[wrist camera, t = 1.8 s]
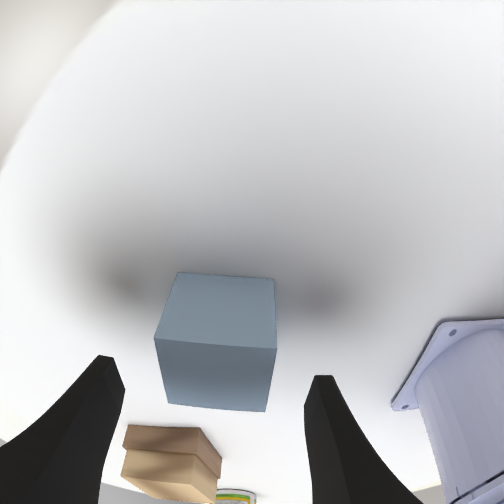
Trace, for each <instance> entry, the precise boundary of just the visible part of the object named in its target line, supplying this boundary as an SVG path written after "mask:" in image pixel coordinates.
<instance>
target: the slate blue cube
mask: <svg viewBox="0 0 504 504" xmlns="http://www.w3.org/2000/svg"><path fill="white" fill-rule="evenodd" d="M154 341H155V346H156V351H157V356H158V361H159V365H160V370H161V374H162V379H163V383H164V387H165V392H166V396H167V400H168V403H170V404H177V405H185V406H193V407H202V408H212V409H223V410H236V411H252V412H265V410H266V405H267V400H268V395H269V390H270V385H271V379H272V374H273V369H274V363H275V358H276V352H277V334H276V314H275V295H274V279H264V278H250V277H235V276H222V275H209V274H196V273H184V272H178V274H177V276H176V279H175V282H174V284H173V287H172V289H171V292H170V295H169V297H168V300H167V303H166V305H165V308H164V311H163V314H162V316H161V319H160V322H159V325H158V327H157V330H156V333H155V336H154Z"/></svg>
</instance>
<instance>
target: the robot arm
mask: <svg viewBox="0 0 504 504" xmlns="http://www.w3.org/2000/svg"><path fill="white" fill-rule="evenodd" d="M124 394H125V388H124V385H123V382H122V380H121V377H120V374H119V372H118V369H117V366H116V364H115V361H114V358H113V357H108V356H102V355H98V356H97V357H96V358H95V359H94V360H93V362H92V363H91V364H90V365H89V366H88V367H87V368H86V370H85V371H84V372H83V373H82V374H81V375H80V376H79V378H78V379H77V380H76V381H75V382H74V383H73V384H72V385H71V386H70V387H69V389H68V390H67V391H66V392H65V393H64V394H63V395H62V396H61V397H60V398H59V399H58V400H57V401H56V402H55V403H54V404H53V405H52V406H51V407H50V408H49V409H48V410H47V411H46V412H45V413H44V414H43V415H42V416H41V417H40V418H39V419H38V420H36V421H35V422H34V423H33V424H32V425H31V426H29V427H28V428H27V429H26V430H24V431H23V432H22V433H20V434H19V435H18V436H16V437H15V438H14V439H12V440H11V441H9V442H8V443H6V444H4V445H3V446H1V447H0V504H98V498H99V490H100V483H101V477H102V471H103V466H104V463H105V459H106V456H107V452H108V449H109V446H110V443H111V440H112V437H113V434H114V431H115V428H116V425H117V422H118V419H119V416H120V413H121V408H122V404H123V399H124ZM391 408H392V410H393V411H402V410H410V409H417V408H419V409H420V412H421V415H422V418H423V421H424V424H425V427H426V430H427V433H428V437H429V440H430V443H431V447H432V450H433V453H434V457H435V460H436V464H437V468H438V471H439V475H440V479H441V483H442V487H443V490H444V495H445V499H446V503H447V504H504V319H494V320H478V321H457V322H444V323H442V324H441V325H439V326H438V328H437V329H436V331H435V333H434V335H433V337H432V339H431V341H430V343H429V344H428V346H427V348H426V350H425V351H424V353H423V355H422V357H421V358H420V360H419V362H418V364H417V365H416V367H415V369H414V370H413V372H412V373H411V375H410V377H409V378H408V380H407V382H406V383H405V385H404V386H403V388H402V389H401V391H400V392H399V394H398V395H397V397H396V398H395V400H394V401H393V403H392V404H391ZM304 427H305V437H306V444H307V451H308V458H309V465H310V472H311V480H312V496H313V504H423V503H422V502H421V501H420V500H419V499H418V498H416V497H415V496H414V495H413V494H412V493H411V492H410V491H409V490H408V489H407V488H406V487H405V486H404V485H403V484H402V483H401V482H400V481H399V480H398V478H397V477H396V476H395V475H394V474H393V473H392V472H391V470H390V469H389V468H388V467H387V466H386V464H385V463H384V462H383V461H382V459H381V458H380V457H379V455H378V454H377V453H376V451H375V450H374V448H373V447H372V445H371V444H370V442H369V441H368V439H367V438H366V436H365V435H364V433H363V432H362V430H361V428H360V427H359V425H358V423H357V422H356V420H355V418H354V417H353V415H352V413H351V411H350V409H349V407H348V406H347V404H346V402H345V400H344V398H343V396H342V394H341V392H340V390H339V388H338V386H337V384H336V382H335V379H334V377H333V376H332V375H315V376H314V379H313V382H312V385H311V388H310V390H309V393H308V396H307V399H306V402H305V404H304Z"/></svg>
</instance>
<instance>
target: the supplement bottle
mask: <svg viewBox="0 0 504 504" xmlns="http://www.w3.org/2000/svg"><path fill="white" fill-rule="evenodd" d="M210 504H256V496H255V495H254V494H253V493H250V492H246V491H241V490H231V489H225V490H217V491H216V502H215V503H210Z"/></svg>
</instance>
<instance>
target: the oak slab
mask: <svg viewBox="0 0 504 504" xmlns="http://www.w3.org/2000/svg"><path fill="white" fill-rule="evenodd" d="M121 477H123V478H124V479H126V480H127V481H128V482H130V483H131V484H133V485H134V486H136V487H137V488H139V489H140V490H142V491H144V492H145V493H147V494H148V495H150V496H151V497H153V498H159V499H167V500H175V501H185V502H197V503H215V502H216V491H217V480H218V478H217V477H216V476H215V475H214V474H213V473H212V472H211V470H210V469H209V468H208V467H207V466H206V465H205V464H204V463H203V462H202V461H201V460H200V459H199V458H198V456H197V455H196V454H195V453H171V452H157V451H146V450H136V449H127V452H126V456H125V460H124V464H123V468H122V472H121Z"/></svg>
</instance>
